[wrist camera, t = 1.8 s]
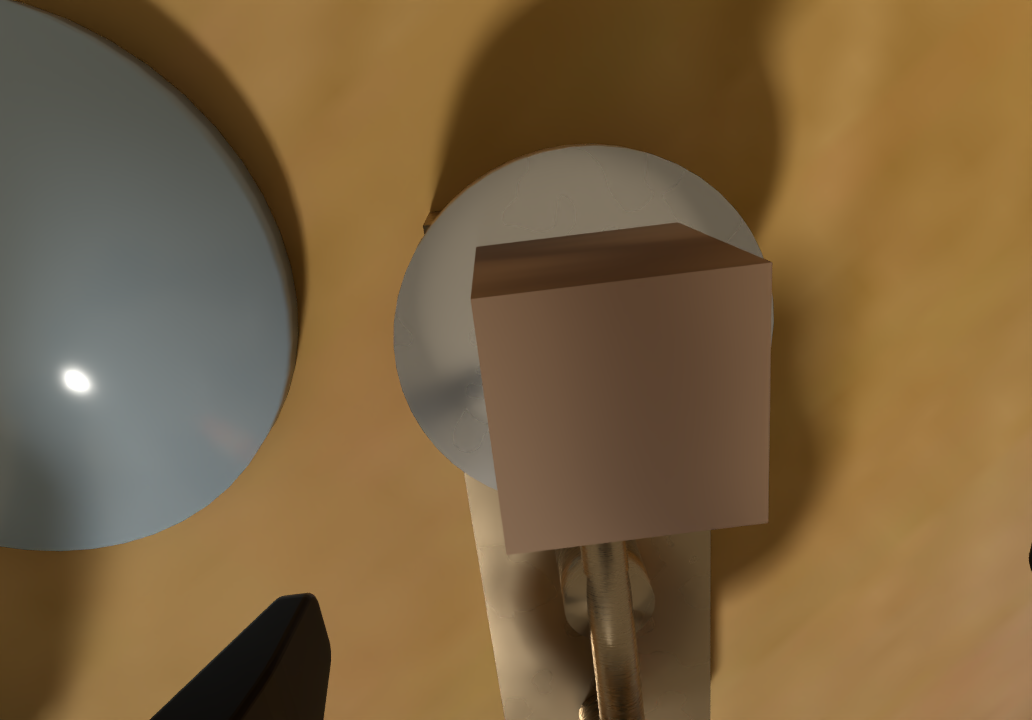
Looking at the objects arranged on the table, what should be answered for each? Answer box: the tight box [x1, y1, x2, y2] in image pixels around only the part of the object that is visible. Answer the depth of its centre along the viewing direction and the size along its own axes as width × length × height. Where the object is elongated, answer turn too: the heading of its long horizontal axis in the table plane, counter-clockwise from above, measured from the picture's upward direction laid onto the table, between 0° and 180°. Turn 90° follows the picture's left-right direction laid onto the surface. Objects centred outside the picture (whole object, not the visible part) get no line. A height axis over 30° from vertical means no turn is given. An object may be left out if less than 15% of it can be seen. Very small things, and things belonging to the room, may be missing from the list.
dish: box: [0, 0, 299, 551], centre depth 17 cm, size 15×15×1 cm
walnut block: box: [471, 222, 772, 555], centre depth 13 cm, size 4×4×5 cm
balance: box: [394, 143, 774, 720], centre depth 18 cm, size 23×9×8 cm, turn 6°
